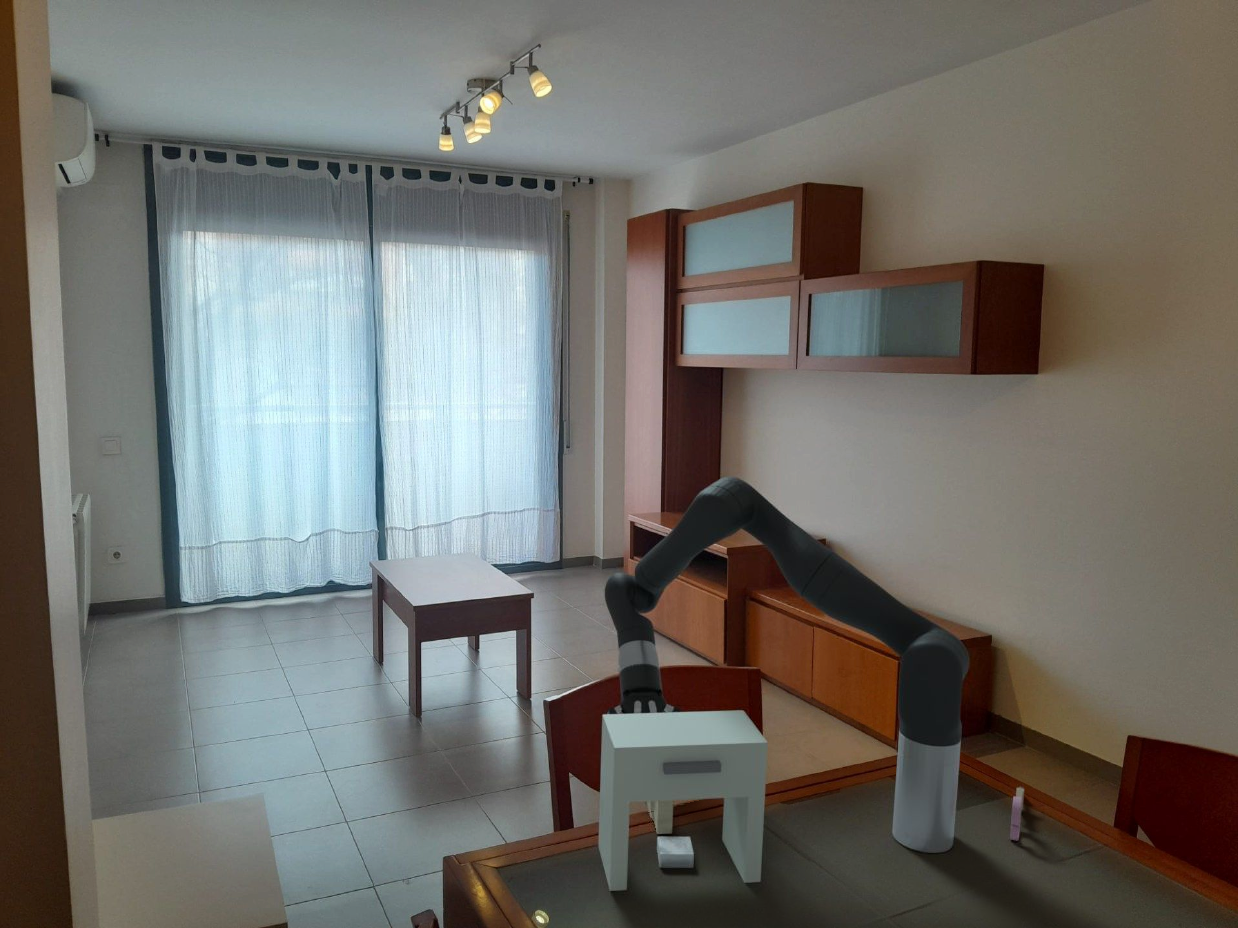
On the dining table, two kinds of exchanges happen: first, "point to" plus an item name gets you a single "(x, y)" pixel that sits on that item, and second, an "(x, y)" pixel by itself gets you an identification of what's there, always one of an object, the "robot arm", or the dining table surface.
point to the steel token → (675, 852)
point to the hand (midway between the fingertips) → (648, 762)
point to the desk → (683, 779)
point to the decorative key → (1016, 814)
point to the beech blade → (661, 815)
